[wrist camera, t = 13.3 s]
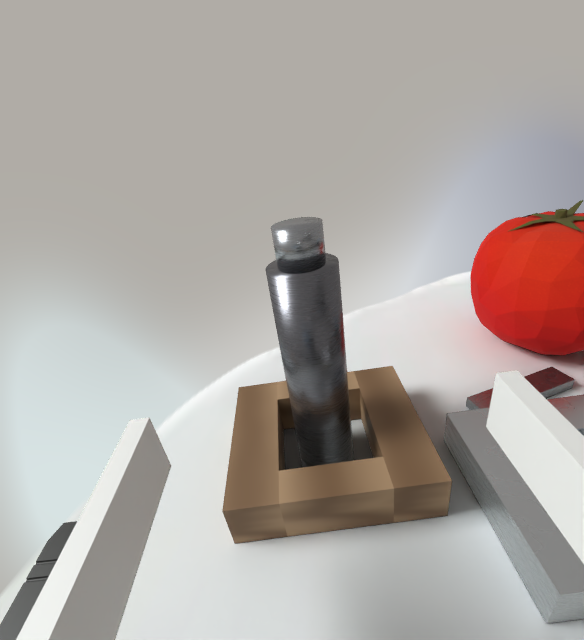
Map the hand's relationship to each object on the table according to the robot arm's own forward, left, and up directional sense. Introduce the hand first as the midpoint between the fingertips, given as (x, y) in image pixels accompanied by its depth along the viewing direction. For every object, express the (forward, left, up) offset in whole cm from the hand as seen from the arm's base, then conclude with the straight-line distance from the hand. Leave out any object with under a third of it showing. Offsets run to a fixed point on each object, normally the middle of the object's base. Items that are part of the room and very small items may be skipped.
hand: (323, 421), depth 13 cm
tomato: (-21, -16, -10) cm, 29 cm away
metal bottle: (0, -6, -10) cm, 12 cm away
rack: (0, -6, -10) cm, 12 cm away
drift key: (-15, -9, -10) cm, 20 cm away
